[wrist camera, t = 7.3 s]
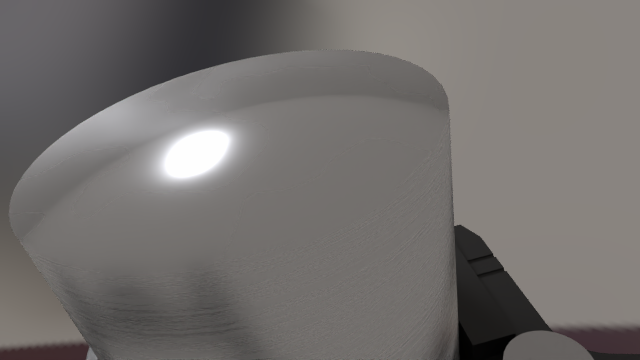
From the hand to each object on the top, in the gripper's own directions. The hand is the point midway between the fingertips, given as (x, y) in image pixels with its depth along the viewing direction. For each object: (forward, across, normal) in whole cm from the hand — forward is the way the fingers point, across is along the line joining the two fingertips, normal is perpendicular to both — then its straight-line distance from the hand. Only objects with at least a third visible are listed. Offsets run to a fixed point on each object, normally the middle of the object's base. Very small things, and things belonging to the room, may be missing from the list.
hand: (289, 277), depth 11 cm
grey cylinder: (-3, 0, +7) cm, 7 cm away
